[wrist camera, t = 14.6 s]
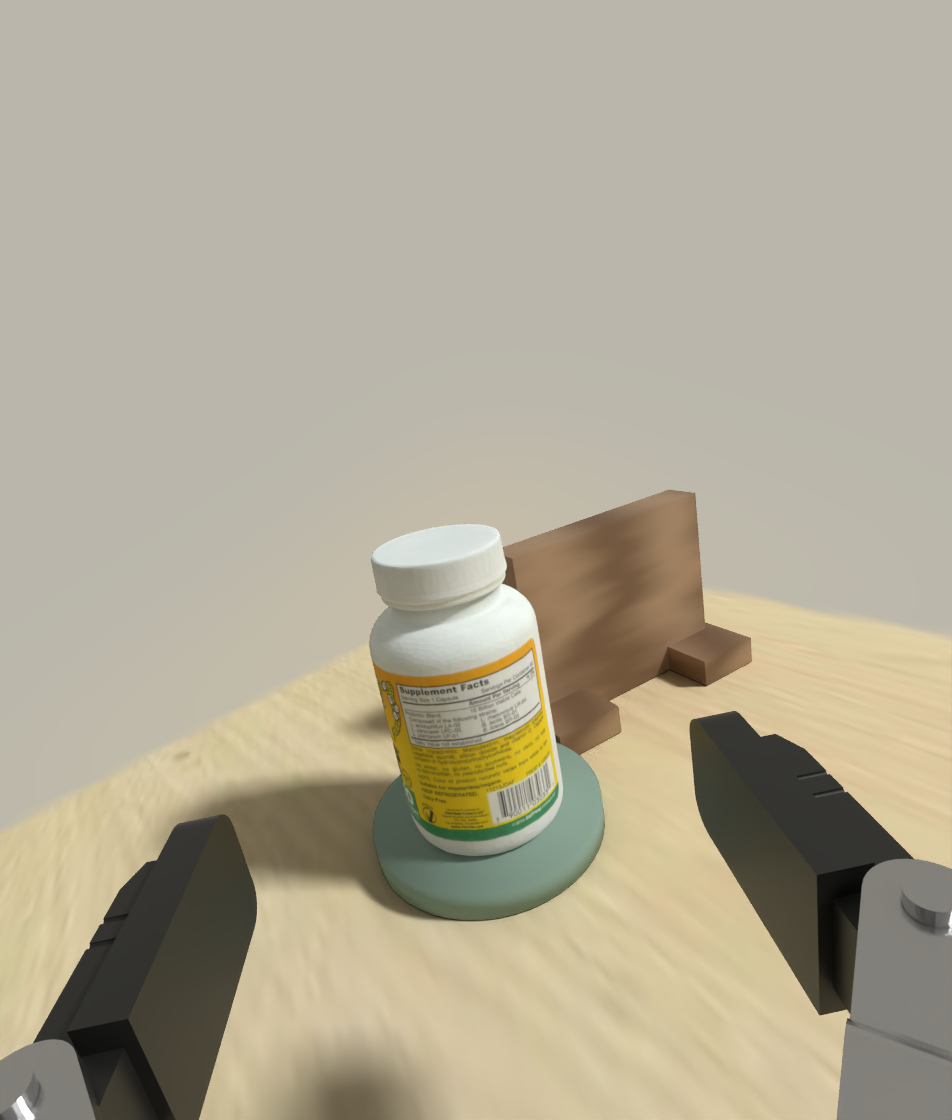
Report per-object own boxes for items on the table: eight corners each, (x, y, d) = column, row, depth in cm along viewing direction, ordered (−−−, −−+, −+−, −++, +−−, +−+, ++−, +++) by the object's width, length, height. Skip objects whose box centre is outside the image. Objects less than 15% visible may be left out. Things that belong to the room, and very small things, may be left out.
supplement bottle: (554, 866, 19) (502, 566, 16) (389, 859, 21) (314, 583, 18) (573, 755, 24) (534, 508, 21) (438, 755, 26) (385, 525, 23)
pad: (331, 867, 22) (324, 844, 22) (465, 738, 28) (461, 718, 28) (529, 962, 18) (523, 934, 17) (640, 783, 24) (638, 760, 23)
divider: (563, 763, 25) (533, 574, 23) (486, 705, 31) (455, 545, 28) (751, 661, 30) (743, 495, 28) (657, 626, 35) (643, 483, 33)
